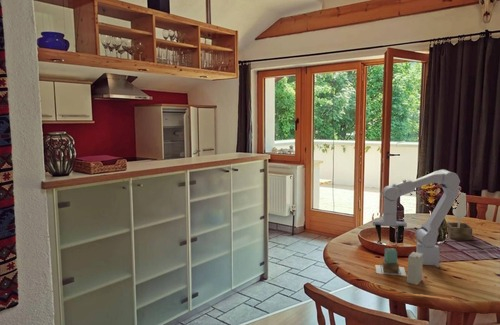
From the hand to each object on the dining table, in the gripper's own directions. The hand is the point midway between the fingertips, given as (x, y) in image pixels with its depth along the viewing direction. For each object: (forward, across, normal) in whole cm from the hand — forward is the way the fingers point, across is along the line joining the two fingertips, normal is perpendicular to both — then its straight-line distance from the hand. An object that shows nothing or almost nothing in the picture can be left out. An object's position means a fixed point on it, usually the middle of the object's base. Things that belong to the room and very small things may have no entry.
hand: (388, 241), depth 174 cm
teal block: (+6, 0, +10) cm, 11 cm away
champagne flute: (+11, -41, -48) cm, 64 cm away
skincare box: (+11, -8, +19) cm, 23 cm away
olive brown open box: (+10, -41, -48) cm, 64 cm away
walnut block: (+10, 0, +10) cm, 14 cm away
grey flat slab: (+10, 0, +10) cm, 14 cm away
